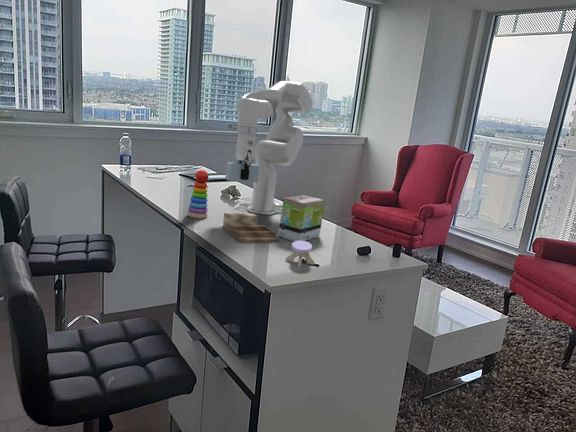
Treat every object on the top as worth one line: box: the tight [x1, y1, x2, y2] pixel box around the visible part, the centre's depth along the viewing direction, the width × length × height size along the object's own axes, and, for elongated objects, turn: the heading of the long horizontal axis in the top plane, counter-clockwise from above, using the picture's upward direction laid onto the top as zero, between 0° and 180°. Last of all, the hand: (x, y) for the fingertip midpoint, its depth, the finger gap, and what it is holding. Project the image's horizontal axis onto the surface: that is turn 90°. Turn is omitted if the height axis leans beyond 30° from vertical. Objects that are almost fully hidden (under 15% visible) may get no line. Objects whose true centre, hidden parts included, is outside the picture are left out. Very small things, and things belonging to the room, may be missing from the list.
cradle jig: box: [224, 224, 281, 243], centre depth 170 cm, size 15×16×2 cm
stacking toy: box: [186, 169, 209, 219], centre depth 186 cm, size 8×8×19 cm
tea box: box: [277, 194, 326, 242], centre depth 175 cm, size 15×10×15 cm
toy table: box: [285, 240, 316, 268], centre depth 147 cm, size 10×9×6 cm
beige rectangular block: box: [222, 212, 258, 228], centre depth 180 cm, size 12×4×5 cm, turn 116°
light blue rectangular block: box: [224, 161, 260, 183], centre depth 185 cm, size 12×4×6 cm, turn 115°
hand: (241, 177), depth 185 cm, fingers closed on light blue rectangular block, 4 cm apart
